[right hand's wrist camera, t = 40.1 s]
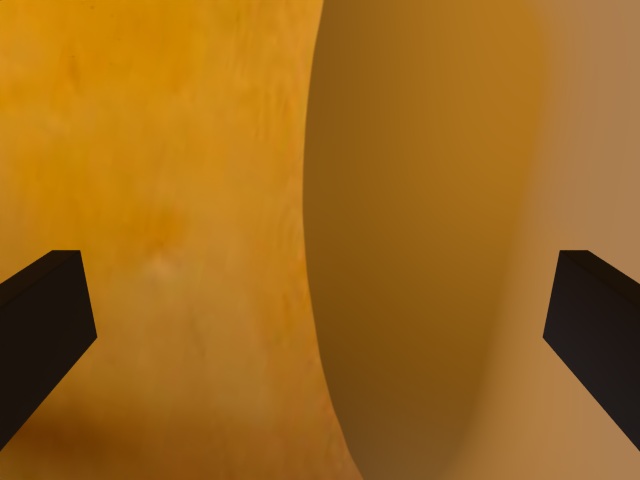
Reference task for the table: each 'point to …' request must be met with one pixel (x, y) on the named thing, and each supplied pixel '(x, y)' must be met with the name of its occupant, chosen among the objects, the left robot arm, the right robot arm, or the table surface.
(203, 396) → the table surface
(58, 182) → the table surface
